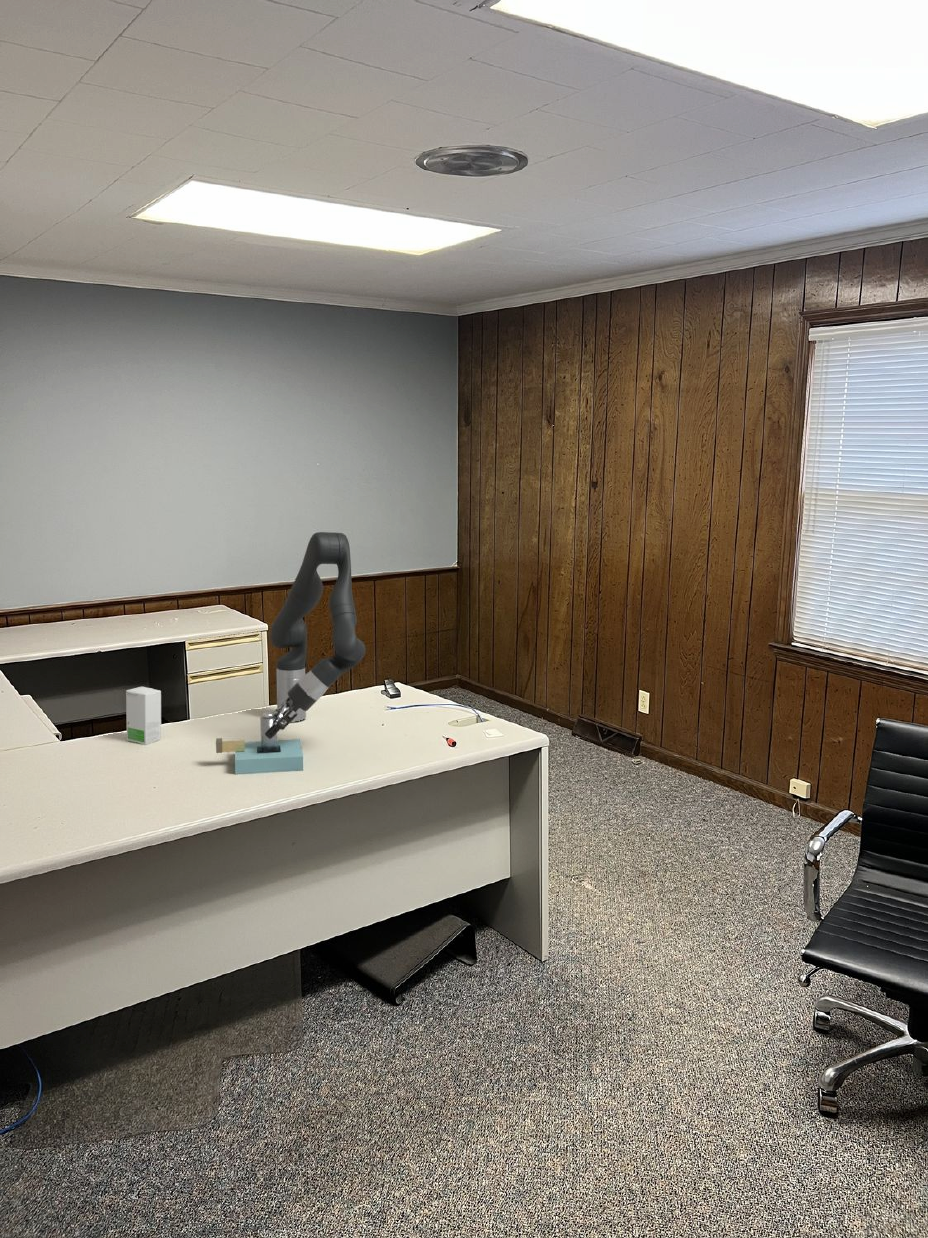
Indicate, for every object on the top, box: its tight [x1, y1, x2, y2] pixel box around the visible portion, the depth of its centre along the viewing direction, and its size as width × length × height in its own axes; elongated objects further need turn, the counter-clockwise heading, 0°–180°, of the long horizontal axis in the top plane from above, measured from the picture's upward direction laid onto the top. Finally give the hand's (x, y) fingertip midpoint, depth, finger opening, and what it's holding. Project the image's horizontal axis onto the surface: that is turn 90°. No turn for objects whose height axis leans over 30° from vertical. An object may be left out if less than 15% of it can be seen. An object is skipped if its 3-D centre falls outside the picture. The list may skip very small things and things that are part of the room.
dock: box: [234, 738, 304, 775], centre depth 253 cm, size 16×18×4 cm
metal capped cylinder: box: [259, 711, 278, 753], centre depth 252 cm, size 4×4×13 cm
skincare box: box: [125, 686, 162, 746], centre depth 271 cm, size 8×7×16 cm
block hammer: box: [215, 737, 246, 754], centre depth 250 cm, size 3×8×3 cm, turn 103°
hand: (267, 732), depth 252 cm, fingers open, 8 cm apart
